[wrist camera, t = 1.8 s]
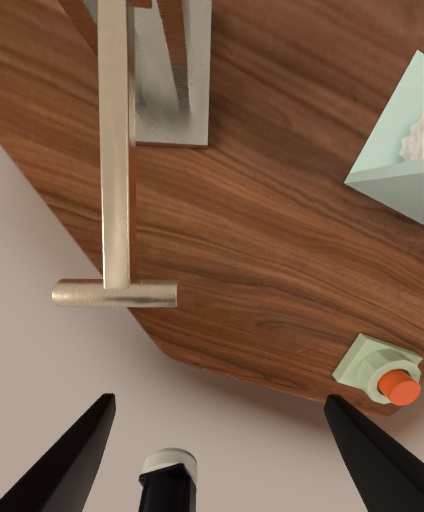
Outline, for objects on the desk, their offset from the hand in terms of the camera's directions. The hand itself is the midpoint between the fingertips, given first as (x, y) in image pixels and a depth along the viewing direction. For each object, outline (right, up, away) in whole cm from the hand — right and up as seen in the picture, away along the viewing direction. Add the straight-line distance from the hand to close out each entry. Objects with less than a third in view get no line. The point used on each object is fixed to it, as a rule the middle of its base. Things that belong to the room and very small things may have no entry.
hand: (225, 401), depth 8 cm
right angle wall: (+21, +17, +11) cm, 29 cm away
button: (+21, -9, +16) cm, 28 cm away
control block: (+21, -8, +18) cm, 29 cm away
